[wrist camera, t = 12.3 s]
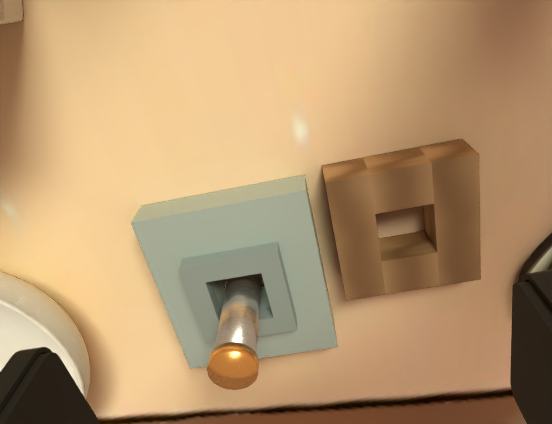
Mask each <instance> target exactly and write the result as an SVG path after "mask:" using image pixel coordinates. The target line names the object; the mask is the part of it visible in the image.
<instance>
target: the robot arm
mask: <svg viewBox="0 0 552 424" xmlns="http://www.w3.org/2000/svg"><path fill="white" fill-rule="evenodd" d="M511 388H512V392H513V395H514V398H515V400H516V403H517V405H518V406H519V409H520V411H521V413H522V415H523V417H524V418H525V421H526V422H527V424H552V270H547V271H540V272H533V273H527V274H524V275H523V277H522V282H521V283H515V284H514V285H513V297H512V339H511ZM0 424H101V423H100V422H99V420H98V419H97V417H96V415H95V414H94V412H93V410H92V409H91V407H90V406H89V404H88V402H87V401H86V399H85V397H84V396H83V394H82V393H81V391H80V389H79V388H78V386H77V384H76V383H75V381H74V379H73V378H72V376H71V375H70V373H69V371H68V370H67V368H66V366H65V365H64V363H63V362H62V360H61V358H60V357H59V356H58V354H56V353H53V352H52V351H51V350H50V349H49V348H47V347H39V348H33V349H26V350H20V351H17V352H15V353H14V354H13V355H12V356H11V358H10V359H9V361H8V362H7V363H6V365H5V366H4V368H3V369H2V370H1V372H0Z"/></svg>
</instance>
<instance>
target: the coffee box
mask: <svg viewBox="0 0 552 424" xmlns="http://www.w3.org/2000/svg"><path fill="white" fill-rule="evenodd" d="M22 20H23V7H22V0H0V25H3V24H9V23H14V22H19V21H22Z"/></svg>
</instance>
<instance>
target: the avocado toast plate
mask: <svg viewBox="0 0 552 424" xmlns="http://www.w3.org/2000/svg"><path fill="white" fill-rule="evenodd" d="M547 270H552V233H551V234H550V235H549V236H548V237H547V238H546V239H545V240H544V241H543V242H542V243H541V244H540V245H539V246H538V248H537V249H536V250H535V251H534V253H533V254H532V256H531V257H530V259H529V261H528V262H527V264H526V265H525V267H524V268H523V270H522V272H521V274H520V277H519V283H521V282H522V277H523V275H524V274H527V273H533V272H540V271H547Z"/></svg>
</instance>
